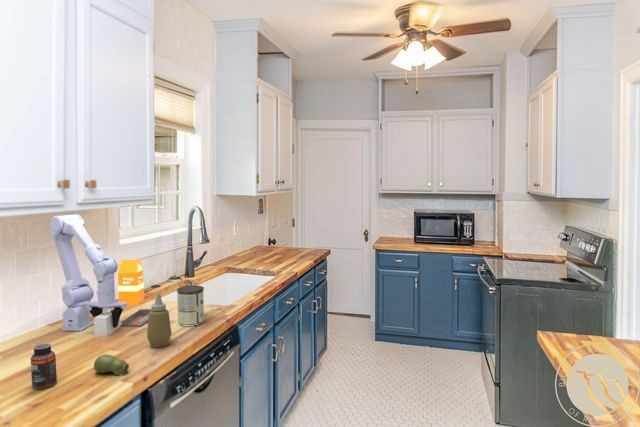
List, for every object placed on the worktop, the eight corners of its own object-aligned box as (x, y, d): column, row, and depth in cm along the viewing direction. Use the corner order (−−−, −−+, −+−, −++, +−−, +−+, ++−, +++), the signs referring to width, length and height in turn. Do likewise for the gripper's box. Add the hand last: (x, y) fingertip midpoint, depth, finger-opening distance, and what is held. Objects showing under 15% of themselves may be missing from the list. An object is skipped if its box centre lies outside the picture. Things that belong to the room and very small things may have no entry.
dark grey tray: (140, 326, 171) (140, 321, 171) (120, 326, 172) (120, 320, 172) (157, 314, 187) (157, 309, 187) (139, 313, 188) (138, 308, 188)
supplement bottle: (58, 378, 127) (56, 340, 126) (55, 387, 121) (53, 348, 120) (34, 382, 124) (32, 343, 124) (29, 391, 119) (27, 351, 118)
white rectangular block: (106, 336, 161) (105, 318, 160) (94, 336, 161) (93, 317, 160) (120, 327, 171) (119, 310, 170) (108, 327, 171) (108, 309, 170)
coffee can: (178, 319, 180) (177, 286, 179) (204, 317, 183) (203, 284, 182) (176, 327, 170) (176, 292, 169) (204, 325, 173) (203, 290, 172)
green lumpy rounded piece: (102, 350, 134) (133, 356, 133) (99, 366, 134) (130, 373, 134) (91, 357, 128) (123, 364, 128) (88, 374, 129) (121, 381, 128)
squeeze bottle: (142, 348, 149) (141, 297, 148) (154, 340, 157) (153, 291, 156) (164, 350, 148) (163, 298, 147) (175, 341, 156) (174, 291, 155)
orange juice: (137, 304, 202) (136, 261, 201) (118, 304, 202) (117, 261, 201) (144, 299, 210) (143, 258, 209) (125, 299, 210) (124, 258, 208)
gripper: (130, 289, 168) (131, 323, 169) (93, 288, 169) (94, 322, 170) (121, 293, 161) (122, 329, 162) (82, 293, 162) (84, 328, 163)
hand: (107, 326), depth 166 cm, fingers open, 6 cm apart
